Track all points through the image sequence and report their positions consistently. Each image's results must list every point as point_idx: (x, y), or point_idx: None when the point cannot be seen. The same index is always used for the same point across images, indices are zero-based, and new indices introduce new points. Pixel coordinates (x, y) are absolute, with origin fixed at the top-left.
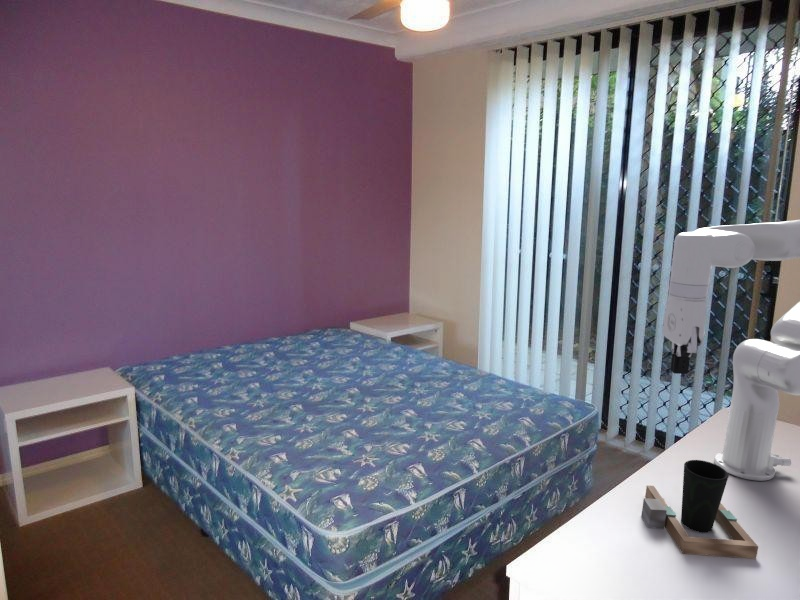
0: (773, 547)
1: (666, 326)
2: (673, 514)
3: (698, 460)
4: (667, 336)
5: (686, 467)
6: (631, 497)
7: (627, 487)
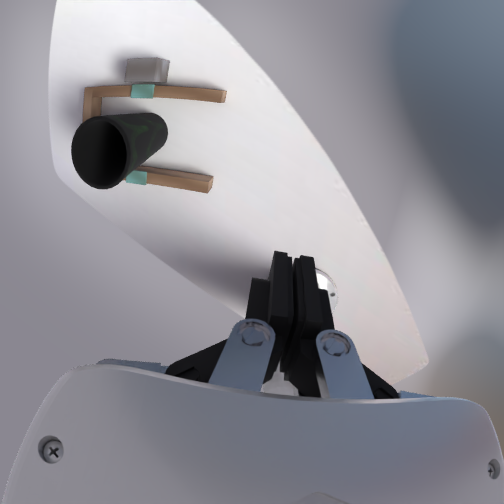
0: (112, 203)
1: (439, 501)
2: (132, 94)
3: (127, 157)
4: (379, 418)
5: (101, 118)
6: (223, 66)
7: (256, 74)
